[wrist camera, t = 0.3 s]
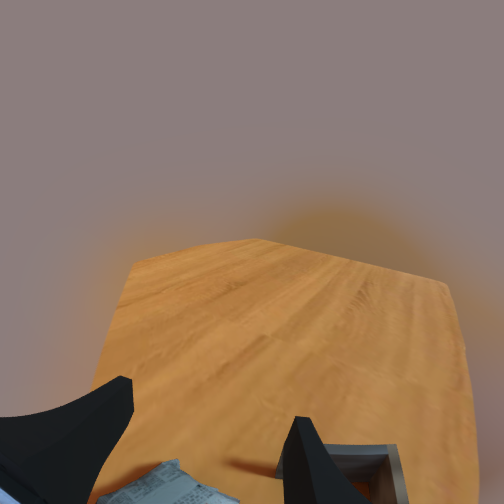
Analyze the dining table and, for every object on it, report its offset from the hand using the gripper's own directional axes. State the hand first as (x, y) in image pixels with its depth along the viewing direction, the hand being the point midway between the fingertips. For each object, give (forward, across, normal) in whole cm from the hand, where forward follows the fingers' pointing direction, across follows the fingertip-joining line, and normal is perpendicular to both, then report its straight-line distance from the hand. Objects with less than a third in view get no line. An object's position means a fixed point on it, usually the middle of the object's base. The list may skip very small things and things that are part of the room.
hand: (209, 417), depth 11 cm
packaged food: (+3, +3, +21) cm, 22 cm away
